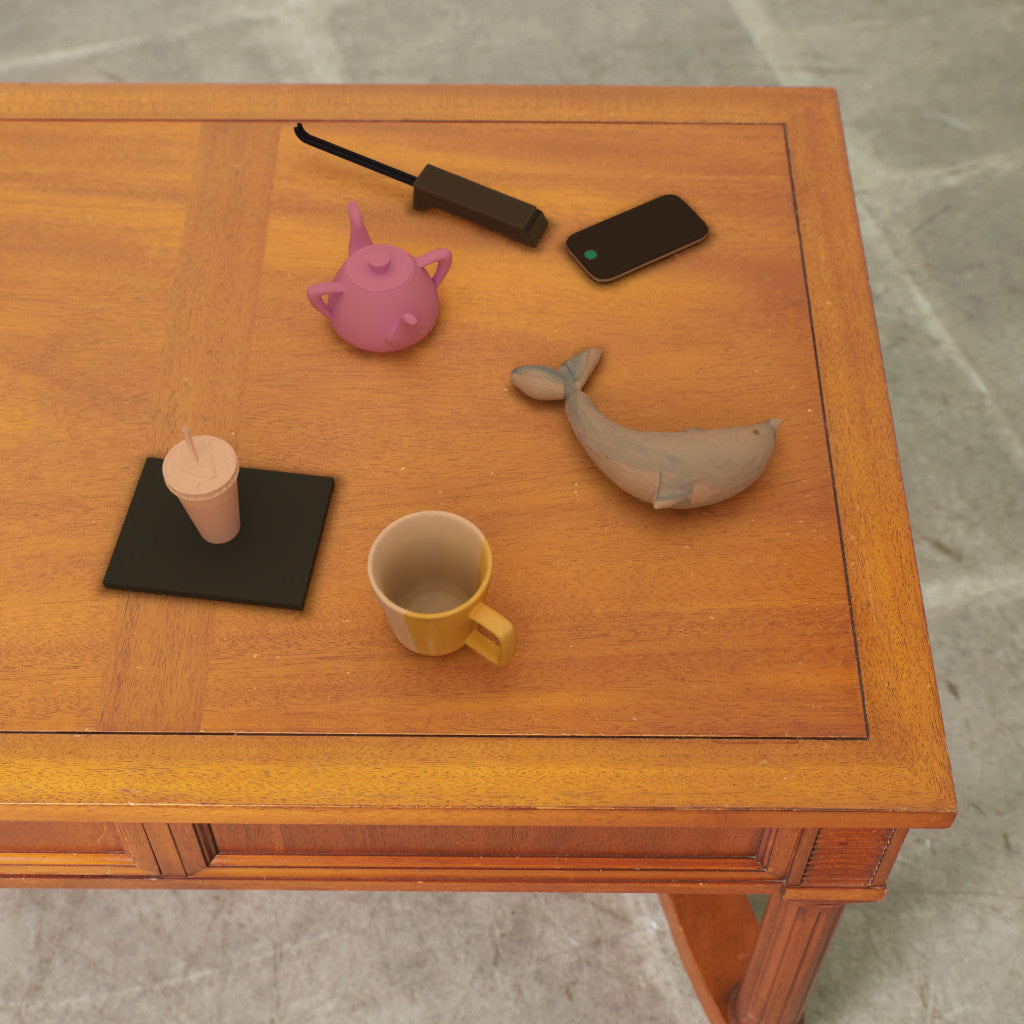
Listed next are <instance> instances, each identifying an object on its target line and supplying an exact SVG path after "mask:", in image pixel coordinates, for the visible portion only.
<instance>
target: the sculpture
mask: <svg viewBox="0 0 1024 1024" xmlns="http://www.w3.org/2000/svg"><path fill="white" fill-rule="evenodd" d="M602 354H603V349H601V348H599V347H590V348H587V349H584V350H583V351H581V352H579V353H577V354H575V355H574V356H573V357H571V358H568V359H567V360H565V361H564V362H562V364H561V365H560V366H559V367H558V368H557V369H556V370H555V369H554V368H552V367H550V366H548V365H545V364H526V365H521V366H517V367H514V368H513V369H512V370H511V371H510V376H509V377H510V383H512V385H514V386H515V387H516V388H517V389H519V390H520V391H521V392H522V393H523V394H524V395H526V396H527V397H530V398H532V399H534V400H538V401H559V400H560V401H561V400H565V402H564V408H565V409H564V411H565V415H566V418H567V420H568V423H569V425H570V428H571V431H572V433H573V435H574V436H575V439H576V440H577V442H578V443H579V444H580V445H581V446H582V448H583V450H584V452H585V454H586V455H587V456H588V457H589V459H590V460H591V461H592V462H593V463H594V465H595V466H596V467H597V468H598V469H599V471H601V473H603V474H604V475H605V476H606V477H607V478H608V479H609V480H610V481H612V482H613V484H614V485H615V486H617V487H618V488H620V489H621V490H622V491H624V492H625V493H627V494H629V496H632V497H633V498H635V499H637V500H639V501H643V502H644V503H647V504H651V505H652V507H653V508H654V509H655V510H662V509H677V510H678V509H679V510H689V509H694V508H695V509H696V508H699V507H705V506H710V505H715V504H719V503H720V502H724V501H725V500H728V499H730V498H732V497H734V496H736V495H738V494H740V493H742V492H743V491H745V490H746V489H747V488H748V487H750V486H751V485H752V484H753V483H755V482H756V481H757V480H759V478H760V477H761V476H762V475H763V473H764V472H765V470H766V468H767V467H768V465H769V463H770V460H771V458H772V456H773V454H774V453H775V452H774V451H775V448H776V444H777V431H778V430H779V429H780V427H781V426H782V425H783V424H784V420H783V419H782V418H776V417H774V418H769V419H767V420H765V421H763V422H759V423H754V424H749V425H741V426H729V427H728V426H727V427H721V428H712V429H704V428H702V427H691V428H690V427H689V428H684V429H683V430H681V431H649V430H648V431H645V430H637V429H632V428H628V427H625V426H623V425H621V424H618V423H617V422H615V421H613V420H612V419H610V418H609V417H607V416H606V415H605V414H603V412H601V411H600V410H599V409H598V407H597V406H596V405H595V404H594V403H593V401H592V400H591V398H590V396H589V395H588V394H587V393H585V392H584V391H582V390H583V387H584V386H585V385H586V383H587V381H589V378H590V377H591V375H592V374H593V372H594V371H595V368H596V366H597V365H598V364H599V362H600V359H601V356H602Z"/></svg>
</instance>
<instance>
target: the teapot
mask: <svg viewBox="0 0 1024 1024" xmlns="http://www.w3.org/2000/svg"><path fill="white" fill-rule="evenodd" d="M347 213H348V216H349V224H350V231H349V232H350V233H349V240H348V249H347V250H348V257H347V259H346V260H345V261H344V263H342V265H341V266H340V267H339V269H338V270H337V272H336V274H335V275H334V277H333V279H332V281H321V282H317V283H313V284H311V285H310V286H308V287H307V289H306V293H305V294H306V298H307V300H308V302H309V304H310V305H311V306H312V307H313V309H315V310H316V311H317V312H319V313H320V314H321V315H322V316H323V317H325V318H326V319H328V320H329V324H330V325H331V327H332V329H333V331H334V332H335V333H336V334H337V335H338V336H339V338H341V339H342V340H343V341H344V342H346V343H347V344H348V345H351V346H352V347H355V348H357V349H360V350H363V351H366V352H370V353H371V352H372V353H379V354H383V353H384V354H385V353H386V354H387V353H394V352H399V351H402V350H405V349H407V348H409V347H412V346H413V345H415V344H417V343H419V342H420V341H422V340H423V339H424V338H425V337H427V336H428V335H429V334H430V333H431V331H432V330H433V328H434V327H435V325H436V324H437V321H438V318H439V315H440V311H441V310H440V309H441V307H440V296H439V293H438V289H439V288H440V286H441V285H442V283H443V281H444V280H445V278H446V276H447V274H449V271H450V270H451V266H452V264H453V253H452V250H450V249H449V248H446V247H440V248H436V249H432V250H430V251H427V252H425V253H423V254H421V255H419V256H417V257H415V256H413V255H412V254H411V253H409V252H407V251H406V250H404V249H403V248H401V247H399V246H396V245H394V244H388V243H373V241H372V238H371V237H370V235H369V231H368V229H367V228H366V226H365V223H364V219H363V217H362V213H361V210H360V207H359V205H358V204H357V202H355V201H354V200H350V201H348V204H347ZM434 263H437V266H436V270H435V271H434V273H433V275H432V277H431V275H430V273H429V272H428V270H427V269H426V268H425V267H428V266H430V265H432V264H434ZM324 295H328V296H327V304H326V303H325V301H324V300H323V298H322V297H323V296H324Z"/></svg>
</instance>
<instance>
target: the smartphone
mask: <svg viewBox="0 0 1024 1024" xmlns="http://www.w3.org/2000/svg"><path fill="white" fill-rule="evenodd" d="M709 231H710V230H709V226H708V225H707V223H706V221H704V220H703V219H702V218H701V217H700V216H699V215H698V213H697V212H695V211H694V210H693V208H692V207H691V206H690V205H689V204H687V202H686V201H685V200H684V199H683V198H681V197H680V196H679V195H677V194H663V195H661V196H658V197H656V198H654V199H652V200H648V201H646V202H645V203H642V204H640V205H637V206H635V207H632V208H629V209H628V210H625V211H623V212H621V213H618V214H616V215H614V216H611V217H609V218H607V219H606V218H605V219H604V220H602V221H600V222H597V223H595V224H593V225H590V226H588V227H586V228H582V229H581V230H579V231H576V232H574V233H573V234H571V235H570V236H568V237H567V239H566V240H565V246H566V247H565V248H566V250H567V252H568V253H569V254H570V255H571V257H572V258H573V259H574V260H575V262H577V264H578V265H579V266H580V267H581V268H582V270H583V271H585V273H586V274H587V275H588V276H589V277H591V279H592V280H594V281H595V282H598V283H608V282H613V281H615V280H617V279H619V278H621V277H624V276H626V275H628V274H631V273H633V272H635V271H638V270H639V269H642V268H644V267H646V266H648V265H651V264H653V263H656V262H657V261H660V260H662V259H664V258H666V257H669V256H671V255H673V254H676V253H678V252H680V251H682V250H684V249H687V248H689V247H691V246H693V245H696V244H698V243H700V242H702V241H704V240H705V239H706V238H707V236H708V234H709Z"/></svg>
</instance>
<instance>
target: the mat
mask: <svg viewBox="0 0 1024 1024" xmlns="http://www.w3.org/2000/svg"><path fill="white" fill-rule="evenodd" d="M164 459H165V458H161V457H151V456H150V457H149V456H147V457H146V460H145V463H144V465H143V468H142V470H141V474H140V475H139V479H138V481H137V484H136V487H135V489H134V490H135V491H134V493H133V495H132V499H131V502H130V504H129V507H128V510H127V513H126V515H125V518H124V520H123V523H122V527H121V529H120V532H119V536H118V537H117V540H116V543H115V546H114V549H113V552H112V555H111V558H110V560H109V563H108V565H107V569H106V570H105V574H104V577H103V580H102V585H103V587H104V588H105V589H110V590H119V591H128V592H137V593H145V594H154V595H164V596H173V597H179V598H190V599H198V600H206V601H213V602H214V601H215V602H223V603H231V604H239V605H240V604H241V605H249V606H257V607H258V606H259V607H265V608H275V609H283V610H284V609H285V610H293V611H300V612H303V611H304V608H305V605H306V600H307V595H308V592H309V588H310V584H311V579H312V577H313V572H314V568H315V564H316V560H317V556H318V552H319V549H320V544H321V541H322V536H323V533H324V532H323V531H324V528H325V526H326V520H327V516H328V513H329V508H330V504H331V500H332V497H333V492H334V489H335V484H336V482H335V477H333V476H326V475H325V476H324V475H318V474H317V475H316V474H307V473H297V472H288V471H280V470H271V469H270V470H269V469H260V468H253V467H243V466H239V473H238V476H237V488H238V501H239V513H240V530H239V532H238V534H237V535H236V536H235V537H234V538H233V539H232V540H230V541H228V542H225V543H221V544H214V543H210V542H208V541H206V540H205V539H204V538H203V537H202V536H201V534H200V533H199V531H198V529H197V528H196V526H195V524H194V523H193V521H192V519H191V518H190V516H189V515H188V513H187V511H186V510H185V508H184V506H183V505H182V503H181V502H180V500H179V498H178V497H177V496H176V495H175V494H174V493H172V492H171V491H170V490H169V488H168V487H167V486H166V483H165V480H164V476H163V471H162V467H163V462H164Z"/></svg>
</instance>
